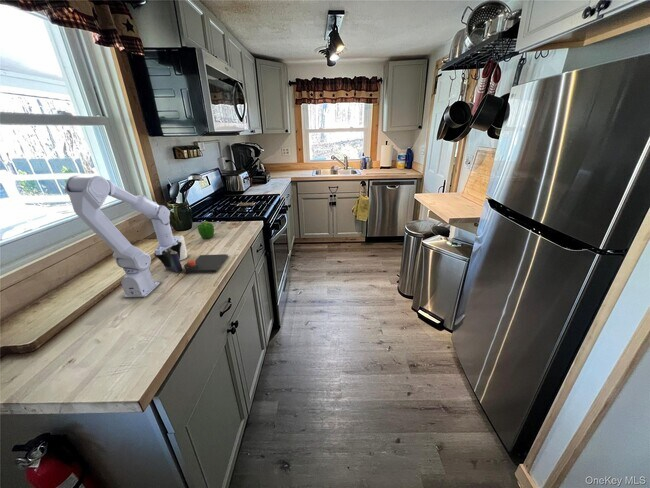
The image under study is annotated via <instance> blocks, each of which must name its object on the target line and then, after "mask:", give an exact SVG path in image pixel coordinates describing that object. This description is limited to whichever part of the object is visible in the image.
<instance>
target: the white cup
mask: <svg viewBox="0 0 650 488" xmlns="http://www.w3.org/2000/svg"><path fill="white" fill-rule="evenodd" d="M173 237H178V238H179V241H178V242H181V243H182V245H181V249H180V261H183V260H185V259H187V258H188V252H187V246H186V241H185V237H184V236H183V235H173Z"/></svg>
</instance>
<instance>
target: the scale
mask: <svg viewBox="0 0 650 488" xmlns="http://www.w3.org/2000/svg"><path fill="white" fill-rule="evenodd" d="M228 258H229V254H227V253H226V254H220V253H219V254H200V255H199V256H198V257H197V258H196V259H194V260H195V265H194V266H188V264H187V262H186V263H185V264H184V265H183V267H184V268H183V269H184V271H185V274H204V273H205V274H206V273H207V274H208V273H211V274H212V273H218V271H219V270H220V268H221V267H222V266H223V264H224V263H225V262H226V260H228Z"/></svg>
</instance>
